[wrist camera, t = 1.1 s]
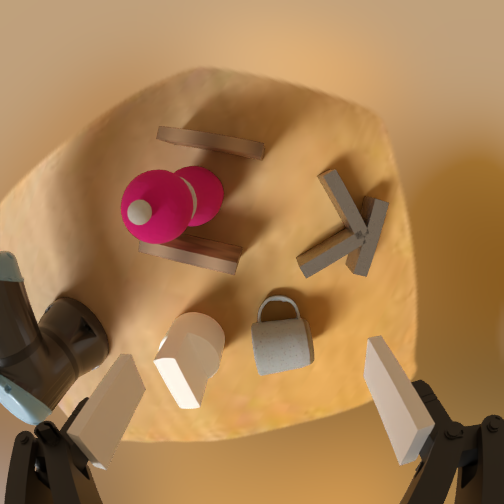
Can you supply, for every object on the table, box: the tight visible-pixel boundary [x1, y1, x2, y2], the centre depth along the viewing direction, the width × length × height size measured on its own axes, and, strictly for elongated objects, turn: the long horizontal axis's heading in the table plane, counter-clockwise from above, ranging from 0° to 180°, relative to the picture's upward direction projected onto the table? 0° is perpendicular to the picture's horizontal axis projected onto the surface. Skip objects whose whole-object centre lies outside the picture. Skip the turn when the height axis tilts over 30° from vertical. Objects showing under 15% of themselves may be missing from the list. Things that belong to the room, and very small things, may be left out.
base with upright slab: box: [154, 312, 225, 409], centre depth 37 cm, size 9×9×12 cm
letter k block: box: [296, 169, 389, 278], centre depth 35 cm, size 9×14×4 cm, turn 167°
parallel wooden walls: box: [139, 126, 265, 275], centre depth 33 cm, size 12×15×7 cm
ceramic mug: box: [251, 295, 314, 375], centre depth 37 cm, size 11×8×8 cm
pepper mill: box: [121, 166, 224, 244], centre depth 27 cm, size 7×7×20 cm
